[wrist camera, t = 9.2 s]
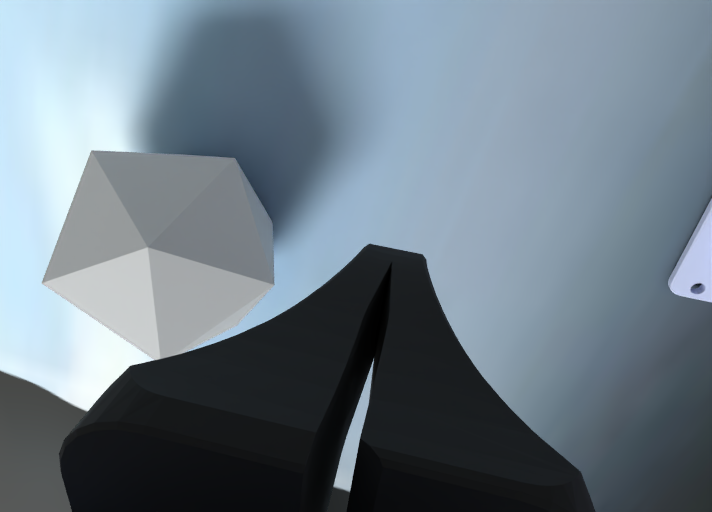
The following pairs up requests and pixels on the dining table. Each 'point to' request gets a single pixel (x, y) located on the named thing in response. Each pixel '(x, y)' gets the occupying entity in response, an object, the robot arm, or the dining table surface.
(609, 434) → the dining table surface
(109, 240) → the die
